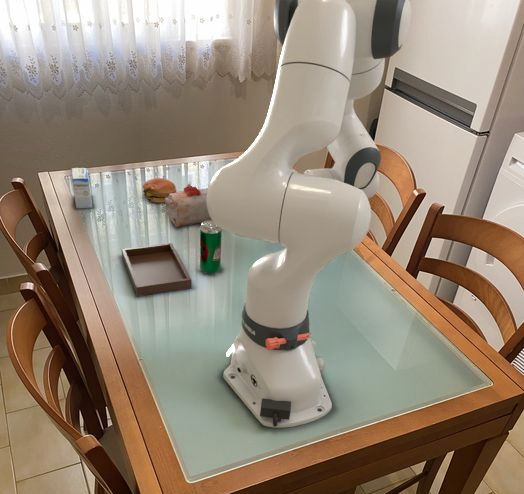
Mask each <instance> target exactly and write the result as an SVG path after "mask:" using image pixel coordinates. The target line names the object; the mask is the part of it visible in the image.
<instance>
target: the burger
mask: <svg viewBox="0 0 524 494" xmlns="http://www.w3.org/2000/svg"><path fill="white" fill-rule="evenodd" d="M142 189H143V190H142V192H143V196H144V197H145V199H147V200H150V202H151V203H156V204H166V202H165V199H166V197H167V198H168V197H169V194H171V193H175V192H177V186H176V185H175V183H174V182H172V181H171V180H169V179H167V178H163V177H155V178H151V179H148V180H146V181H145V182H144V183H143V184H142Z"/></svg>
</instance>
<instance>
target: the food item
mask: <svg viewBox="0 0 524 494" xmlns="http://www.w3.org/2000/svg"><path fill="white" fill-rule="evenodd" d="M207 190H208V187H206V188H197V187H196V186H192V185H191V183H188V184H187V185H186V186H185V187H183V190H180V191H176V192H175V193H171V194H169V197H168V198H167V197H166V199H165V213H166V215H167V217H168V219H169V220H170V222H171V223H172V224H173V225H174V226H175V227H176V228H180V227H181V228H182V227H185V226H190V225H197V224H202V223H203V222H204V221H212V219H211V217H210V215H209V212H208V209H207V202H206V197H207Z"/></svg>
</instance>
